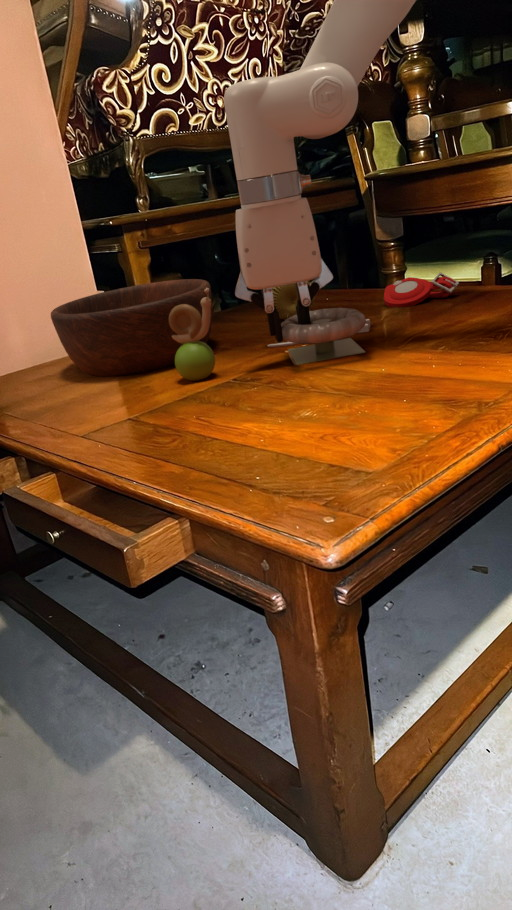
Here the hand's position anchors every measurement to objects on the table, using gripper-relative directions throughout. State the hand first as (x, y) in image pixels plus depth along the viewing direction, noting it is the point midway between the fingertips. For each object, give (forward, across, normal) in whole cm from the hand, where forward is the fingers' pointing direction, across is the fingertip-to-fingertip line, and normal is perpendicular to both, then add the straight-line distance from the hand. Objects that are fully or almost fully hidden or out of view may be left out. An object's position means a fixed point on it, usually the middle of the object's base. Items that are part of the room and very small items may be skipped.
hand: (291, 336), depth 92 cm
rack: (+4, -4, 0) cm, 6 cm away
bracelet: (-1, -4, 0) cm, 4 cm away
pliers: (+4, -6, -14) cm, 16 cm away
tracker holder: (+4, -25, -26) cm, 36 cm away
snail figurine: (+4, +13, -1) cm, 13 cm away
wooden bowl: (+4, +22, -20) cm, 30 cm away
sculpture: (+4, -4, -29) cm, 30 cm away
